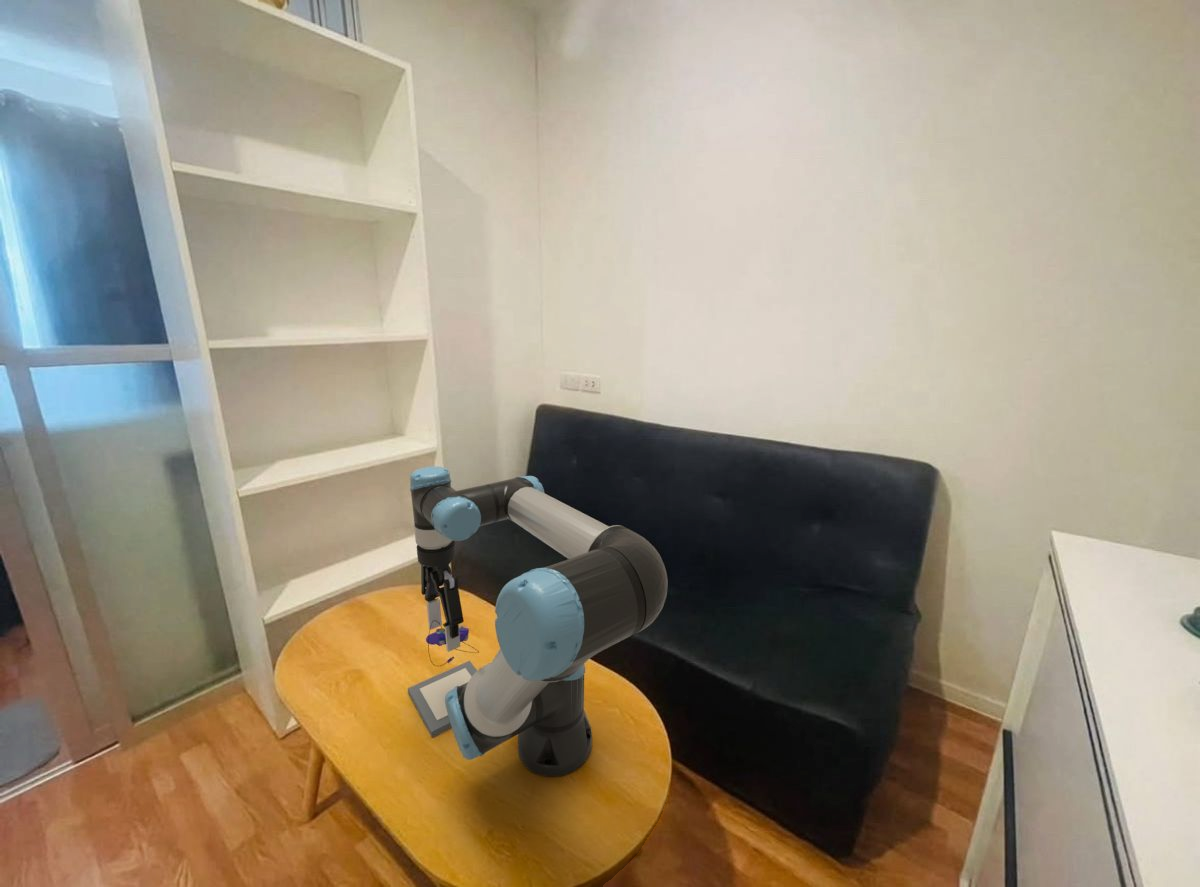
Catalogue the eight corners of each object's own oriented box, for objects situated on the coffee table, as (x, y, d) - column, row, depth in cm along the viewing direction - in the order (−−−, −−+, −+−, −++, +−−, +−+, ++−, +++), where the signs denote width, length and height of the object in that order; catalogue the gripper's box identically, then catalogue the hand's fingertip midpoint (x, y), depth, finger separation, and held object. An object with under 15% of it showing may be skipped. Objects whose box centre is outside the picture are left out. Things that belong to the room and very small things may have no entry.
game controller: (455, 614, 112) (482, 623, 106) (451, 651, 111) (478, 662, 105) (416, 619, 105) (442, 629, 99) (411, 659, 104) (437, 672, 97)
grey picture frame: (497, 703, 109) (497, 697, 109) (431, 737, 100) (431, 731, 100) (470, 665, 121) (469, 659, 120) (408, 693, 112) (407, 687, 111)
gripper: (476, 555, 94) (483, 655, 100) (433, 520, 110) (440, 608, 115) (439, 567, 89) (448, 672, 95) (399, 529, 105) (409, 620, 111)
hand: (444, 637), depth 105 cm, fingers closed on game controller, 9 cm apart
